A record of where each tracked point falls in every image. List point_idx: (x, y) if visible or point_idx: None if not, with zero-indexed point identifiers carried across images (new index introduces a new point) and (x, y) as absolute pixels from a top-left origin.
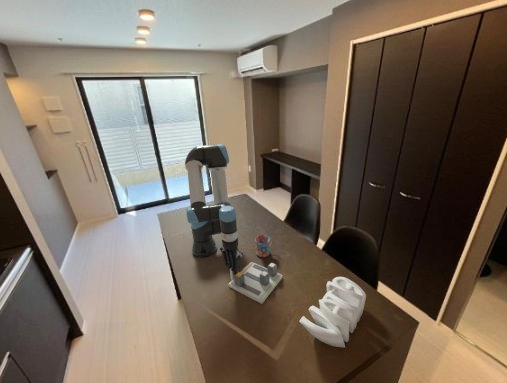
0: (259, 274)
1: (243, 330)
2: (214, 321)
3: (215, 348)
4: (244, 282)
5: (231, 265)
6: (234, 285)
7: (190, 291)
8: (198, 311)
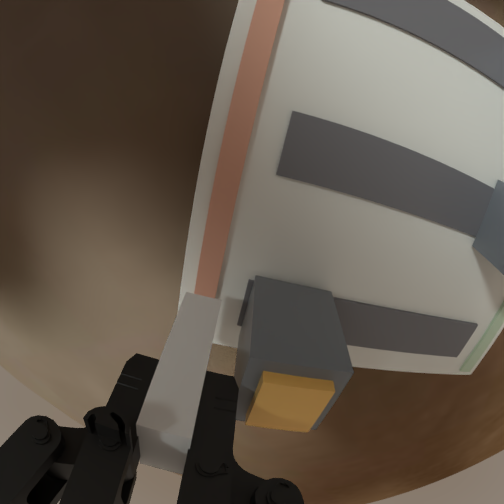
0: (450, 117)
1: (379, 458)
2: (249, 467)
3: None
4: (330, 295)
5: (126, 470)
6: None
7: (31, 376)
8: None
